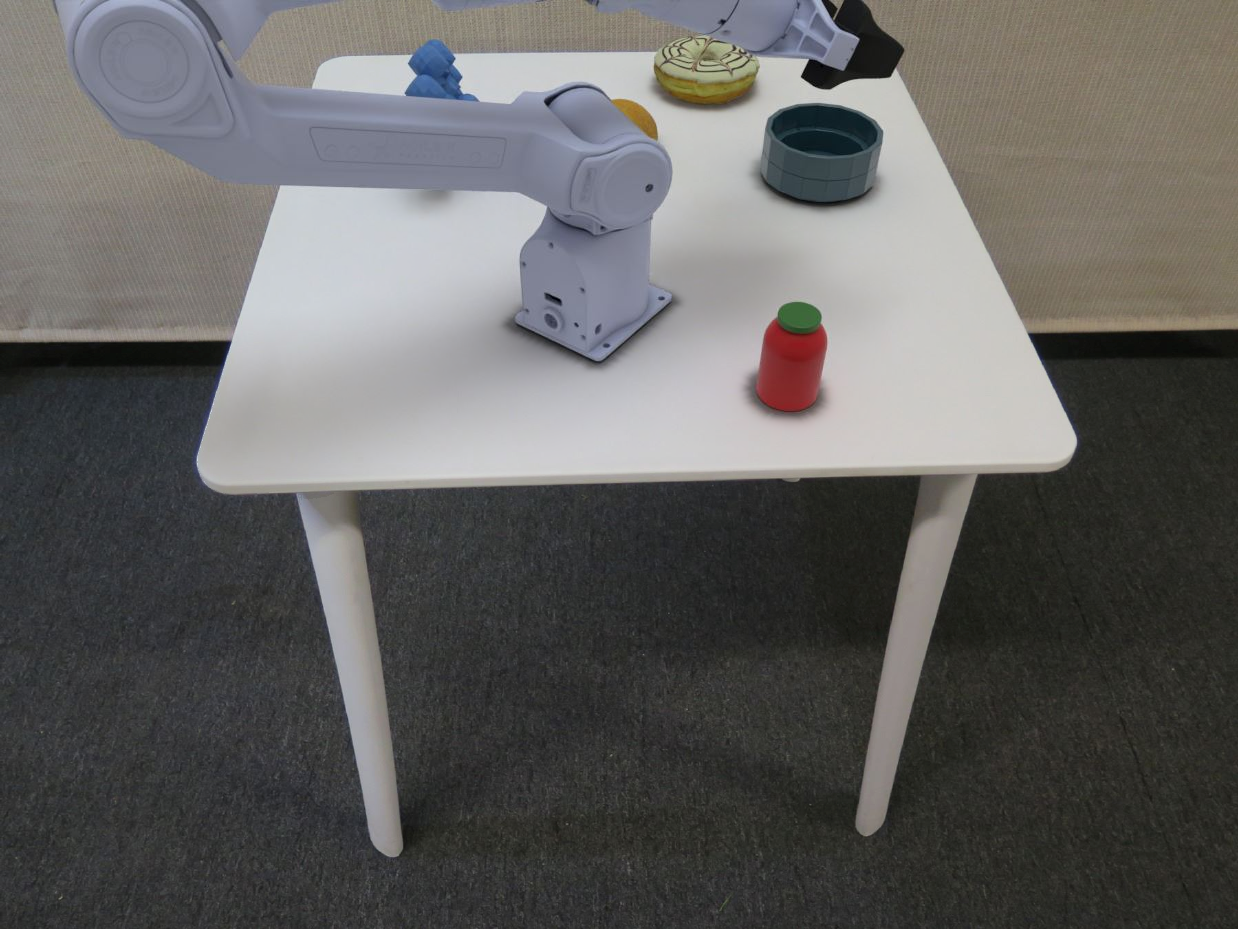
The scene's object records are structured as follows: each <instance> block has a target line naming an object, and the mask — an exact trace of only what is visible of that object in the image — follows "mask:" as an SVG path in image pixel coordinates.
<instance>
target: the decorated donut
mask: <svg viewBox="0 0 1238 929" xmlns="http://www.w3.org/2000/svg"><path fill="white" fill-rule="evenodd" d="M760 68H761V64H760V62H759V59H758V57H757V56H754V55H751V54H749V53H747V52H745V51H744V50H743V49H742V48H741V47H738V46H735V45H732V44H729V43H726V42H723V41H720V40H717V39H714V38H711V37H708V36H705V35H702V34H699V33H697V34H695V35H689V36H685V37H682V38H681V37H680V38H676V39H673V40H670V41H669V42H668V43H666V44H665V45H663V46H662V47H659V49H658V50H657V52H656V53H655V55H654V61H653V72H654V75H655V78H656V81H657V82H658V84H659V85H660V87H661V88H662V90H664V91H665V92H666V93H668V94H669V95H671V97H673V98H675V99H677V100H681V101H684V102H688V103H694V104H697V105H704V104H706V105H716V104H726V103H728V102H729V101H732V100H733V101H734V100H735V99H737V98H740V97H742V96H743V95H745V94H746V93H747V92H748V91H749V90H750V89H751V87H752V86H753V85H754V83H755V82H756V79H757V75H758V73H759V70H760Z"/></svg>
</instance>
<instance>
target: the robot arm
mask: <svg viewBox="0 0 1238 929" xmlns="http://www.w3.org/2000/svg"><path fill="white" fill-rule="evenodd" d="M345 1H347V0H51V4H52V6H53V8H54V12H55V14H56V15H57V17H58V19H59V22H60V25H61V29H62V33H63V37H64V41H65V49H64V50H65V56H66V61H67V65H68V68H69V70H70V74H71V76H72V78H73V80H74V81H75V83H76V84H77V87H79V89H80V90H81V92H82V93H83V94H84V95H85V97H86V98H87V99H88V100H89V101H90V102H91V103H92V105H93V106H94V107H95V108H96V110H98V111H99V113H100V114H101V115H102V116H103V117H104V118H105V119H106V120H107V122H108V123H109V124H110V125H111V126H112V127H113V128H114V129H115V130H116V132H117V133H118V134H119V136H120V137H122V138H124V139H125V140H135V141H144V142H145V141H146V142H148V143H150V144H151V145H153V146H155V147H157V148H159V149H160V150H162V151H164V152H166V153H167V154H169V155H172V156H174V157H175V158H177V159H179V160H180V161H183V162H184V163H187V164H188V165H190V166H191V167H193V168H196V169H197V170H199V171H201V172H203V173H205V174H206V175H208V176H210V177H212V178H214V179H216V180H218V181H220V182H223V183H228V184H234V185H249V186H250V185H253V186H255V185H256V186H287V187H293V186H294V187H324V188H354V189H355V188H359V189H390V190H391V189H394V190H425V191H426V190H428V191H429V190H430V191H458V192H459V191H460V192H462V191H463V192H464V191H465V192H466V191H467V192H497V193H519V194H521V195H523V196H526V197H527V198H529V199H532V200H533V201H535V202H537V203H539V204H541V205H543V206H545V207H546V210H545V214H544V216H543V218H542V221H541V223H540V225H539V226H538V227H537V229H536V230H535V232H534V233H532V235H531V236H530V237H529V238H528V239H526V241H525V242H524V244H523V245H522V246H521V249H520V251H519V258H518V259H519V260H518V262H519V275H520V289H521V302H522V303H521V304H522V310H521V311H519V312H518V313H517V314H516V315H515V316H514V321H515V323H516V324H517V325H519V326H522V327H523V328H525V329H527V330H530V331H532V332H534V333H536V334H538V335H541V336H542V337H544V338H546V339H548V340H550V341H552V342H555V343H557V344H559V345H561V346H564V347H566V348H567V349H569V350H571V351H574V352H576V353H577V354H580V355H581V356H584V357H586V358H588V359H591V360H592V361H595V362H601V361H604V359H606V358H607V357H608V356H609V355H611V353H613V352H614V351H616V349H617V348H619V347H620V346H621V345H622V344H623V343H625V341H627V340H628V339H629V338H630V337H631V336H633V334H635V333H636V332H637V331H638V330H639V329H640V328H642V327H643V326H644V325H645V324H647V322H649V321H650V320H651V319H652V318H653V317H654V316H656V315H657V314H658V313H659V312H660V311H661V310H662V309H664V308H665V307H666V306H667V305H668V304H669V303H670V302H672V299H673V298H672V297H673V296H672V294H671V293H670V292H668V291H667V290H664V289H662V288H659V287H658V286H655V285H653V284H651V283H650V274H651V273H650V271H651V270H650V269H651V246H652V244H651V243H652V220H653V219H654V213H655V212H656V211H657V210H659V208H660V207H661V205H662V204H663V203H664V201H665V199H666V198H667V195H668V194H669V191H670V189H671V186H672V181H673V172H674V171H673V163H672V159H671V156H670V155H669V152H668V151H667V149H666V148H665V146H663V145H662V144H661V143H660V142H658V140H657V141H656V140H655V139H653V138H650V137H648V136H647V135H646V134H645V133H644V132H643V131H642V130H641V129H640V128H639V127H638V126H637V125H635V124H634V123H633V122H632V121H631V120H630V119H629V118H628V117H627V116H626V115H625V114H624V113H623V112H622V111H620V110H619V109H618V108H617V107H616V106H615V105H614V104H613V103H612V102H611V100H612V99H611V98H610V97H609V95H607V93H606V92H605V91H604V90H603V89H602V88H600V87H599V86H598V85H595V83H592V82H591V83H590V82H586V81H572V82H568V83H565V84H562V85H560V86H557V87H556V88H553V89H550V90H547V91H527V90H525V91H523V92H521V93H519V95H518V96H517V97H516V98H515V99H514V100H513V101H512V102H511V103H504V102H503V103H501V102H490V101H480V102H477V101H465V100H452V99H439V98H426V97H413V96H406V95H400V94H387V93H373V92H361V91H360V92H359V91H348V90H335V89H322V88H311V87H310V88H309V87H298V86H297V87H296V86H283V85H270V84H261V83H255V82H253V81H252V80H251V79H250V78H249V77H248V76H247V75H246V73H244V71H243V70H242V69H241V68H240V67H239V65H238V64H237V63H236V62H238V61H240V60H241V59H242V58H243V57H244V55H245V54H246V52H247V51H248V49H249V47H250V46H251V44H253V41H254V40H255V38H256V37H257V35H258V34H259V32H260V31H261V29H262V28H263V26H264V25H265V23H266V22H267V21H268V19H269V17H270V16H271V15H272V14H273V13H277V12H280V11H286V10H293V9H300V8H306V7H313V6H319V5H325V4H331V3H332V4H333V3H339V2H345ZM430 1H431V2H432V3H433V4H434V5H435V6H436V7H437V8H439V9H440V10H442V11H444V12H455V11H463V10H472V9H483V8H491V7H492V8H493V7H494V8H495V7H503V6H514V5H523V4H532V3H542V2H551V1H552V0H430ZM584 1H585V2H586V3H587V4H589V5H591V6H594V7H595V11H596V12H597V13H600V14H606V15H607V14H608V15H610V14H611V15H612V14H617V13H622V12H624V11H627V10H630V9H633V10H636V11H637V12H638V13H640V14H641V15H643V16H646V17H648V18H651V19H655V20H657V21H661V22H663V23H666V24H670V25H672V26H673V25H674V26H675V27H679V28H682V29H685V30H687V31H691V32H693V33H697V34H702V35H705V36H708V37H711V38H714V39H717V40H720V41H723V42H726V43H729V44H732V45H735V46H738V47H741V48H742V49H743V50H744V51H745V52H747V53H749V54H751V55H754V56H756V57H757V58H769V59H770V58H771V59H772V58H773V59H795V60H807V61H806V62H807V63H805V64H806V65H805V66H804V69H803V70H802V73H801V74H800V78H801V79H802V80H804V81H805V82H806V83H808V84H809V85H811V86H812V87H813V88H815V89H819V90H826V91H827V90H828V91H830V90H833V89H834V88H836V87H838V86H839V85H841V84H844V83H847V82H850V81H854V80H878V79H879V80H880V79H881V80H882V79H890V78H891V77H892V76H893V74H894V72H895V71H896V67H898V65H899V63H900V61H901V59H902V57H903V55H904V53H905V51H906V50H905V48H904V46H903V45H902V44H901V43H900V42H899V41H898V40H896V38H894V37H893V36H891V35H890V34H889V33H887V32H886V31H884V30H883V29H882V28H881V27H880V26H879V25H878V23H877V22H876V20H875V18H874V16H873V14H872V10H871V9H870V7H869V6H868V5H867V3H865V2H864V0H843V1H842V3H841V5H840V7H837V6H836V4H834V3H833V2H832V1H831V0H584ZM221 41H222V42H223V44H224V45H225V47H226V49H227V51H228V52H229V54H228V52H227V51H226V50H225V49H224V48H223V47H222V45H220V43H219V42H221Z"/></svg>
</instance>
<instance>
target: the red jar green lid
mask: <svg viewBox="0 0 1238 929" xmlns="http://www.w3.org/2000/svg"><path fill="white" fill-rule="evenodd" d="M822 315H823V314H822V313H821V311H820V310H819V309H818V308H817V307H816V306H815V305H813V304H811V303H808V302H804V301H791V302H787V303H785V304H783V305H781V306H780V307H779V309H778V311H777V316H776V317H775V318H773V320H772V321H771V322H770V323H769V324H768V326H767V327H766V329H765V331H764V334H763V338H762V344H761V351H760V359H759V366H758V373H757V380H756V387H755V390H756V394H757V396H758V398H759V399H760V400H761V401H762V402H763V403H764V404H765V405H767V406H768V407H770V408H772V409H775V410H778V411H783V412H798V411H803V410H805V409H807V408H809V407H811V406H812V405H813V404H814V403H815V402H816V400H817V399H818V395H819V390H820V384H821V380H822V374H823V369H824V365H825V361H826V356H827V350H828V336H827V332H826V329H825V327H824V325H823V324H822V319H823V316H822Z"/></svg>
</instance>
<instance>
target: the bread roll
mask: <svg viewBox="0 0 1238 929" xmlns="http://www.w3.org/2000/svg"><path fill="white" fill-rule="evenodd" d="M611 102H612V103H613V104H614V105H615V106H616V107H617V108H618V109H619V110H620V111H622V112H623V113H624V114H625V115H626V116H627V117H628V118H629V119H630V120H631V121H632V122H633V123H634V124H635V125H637V126H638V127H639V128H640V129H641V130H642V131H643V132H644V133H645V134H646V135H647V136H648V137H650V138H653V139H655V140H656V141H657V142H658V138H659V135H658V134H659V132H658V127H657V122H656V120H655V119H654V117H653V116H652V114H651V113H650V112H649V111H648V110H647V109H646V108H645V107H644V106H643V105H641V104H640V103H638V102H636V101H633V100H631V99H627V98H613V99H611Z"/></svg>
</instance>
